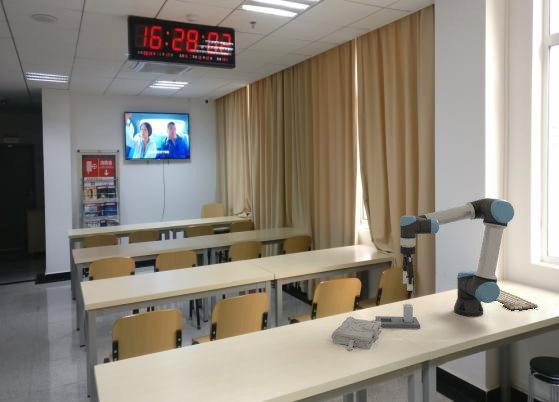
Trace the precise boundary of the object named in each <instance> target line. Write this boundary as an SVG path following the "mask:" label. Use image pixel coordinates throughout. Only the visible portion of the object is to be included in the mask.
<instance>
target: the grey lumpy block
mask: <svg viewBox="0 0 559 402" xmlns="http://www.w3.org/2000/svg"><path fill="white" fill-rule="evenodd" d="M382 329H383V328H382V327H381V322H379V321H376V320H366V319H359V318H355V317H354V316H348V317H347V318H346V319H345V320H344V321H342V323H341V325H338V326H337V328H336V329H335V330H333V332H332V334H331V340H332V342H333V343H334V344H335V345H346V346H347V348H346V350H347V351H348V350H349V351H352V349H353V347H357V348H359V349H362V350H363V349H364V350H371V348H372V346H373V344H374V343H376V342H377V341H378V339H379V335H380V334H381V333H382Z"/></svg>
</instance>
